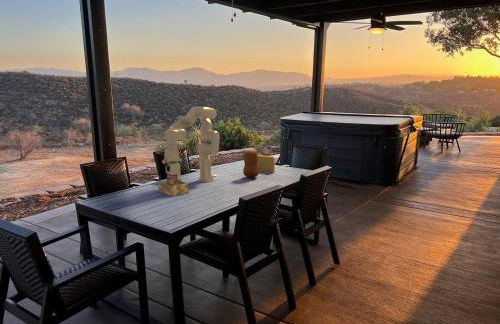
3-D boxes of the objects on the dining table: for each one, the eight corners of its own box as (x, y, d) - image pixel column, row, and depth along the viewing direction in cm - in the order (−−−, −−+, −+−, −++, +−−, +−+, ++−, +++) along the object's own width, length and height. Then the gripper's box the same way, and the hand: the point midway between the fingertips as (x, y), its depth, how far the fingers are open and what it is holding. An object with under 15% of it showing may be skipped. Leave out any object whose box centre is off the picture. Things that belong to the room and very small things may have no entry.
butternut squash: (252, 175, 315) (252, 147, 310) (262, 178, 305) (262, 149, 300) (239, 177, 307) (239, 149, 302) (249, 180, 296) (249, 151, 292)
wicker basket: (176, 187, 273) (176, 178, 272) (188, 193, 259) (188, 183, 257) (158, 190, 264) (158, 181, 263) (169, 196, 250) (169, 187, 248)
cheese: (277, 172, 329) (277, 156, 326) (270, 174, 322) (270, 157, 319) (259, 168, 344) (260, 153, 341) (253, 170, 337) (253, 154, 334)
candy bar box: (181, 181, 293) (180, 161, 290) (177, 182, 289) (176, 162, 286) (170, 179, 298) (169, 160, 295) (166, 181, 294) (165, 161, 291)
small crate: (173, 171, 264) (173, 161, 263) (179, 173, 257) (179, 163, 255) (165, 172, 261) (165, 161, 259) (171, 174, 253) (171, 164, 251)
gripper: (180, 145, 263) (180, 168, 266) (158, 146, 253) (159, 171, 256) (185, 146, 257) (185, 170, 261) (162, 148, 247) (163, 173, 250)
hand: (172, 170), depth 258 cm, fingers closed on small crate, 6 cm apart
